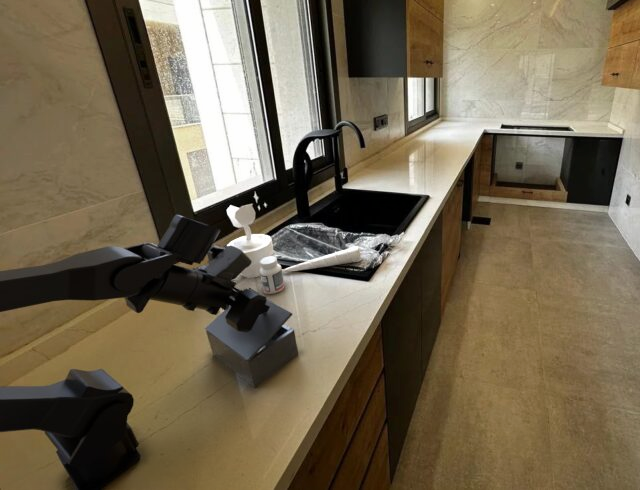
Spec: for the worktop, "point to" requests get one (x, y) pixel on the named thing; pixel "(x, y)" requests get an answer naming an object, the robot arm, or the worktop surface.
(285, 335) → the box
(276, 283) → the pill bottle
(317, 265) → the unicorn horn
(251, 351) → the freezer lid
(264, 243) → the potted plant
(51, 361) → the worktop surface
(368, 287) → the worktop surface
